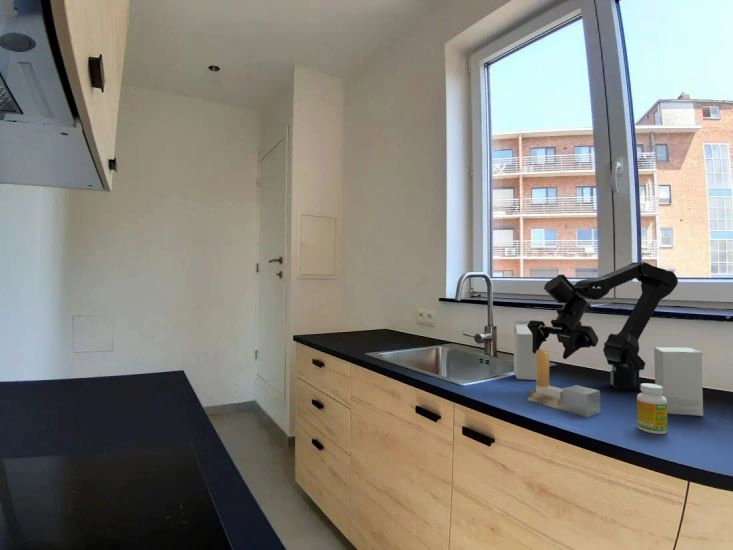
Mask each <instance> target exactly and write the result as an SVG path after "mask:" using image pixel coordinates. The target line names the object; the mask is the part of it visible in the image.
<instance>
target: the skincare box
mask: <svg viewBox="0 0 733 550" xmlns="http://www.w3.org/2000/svg"><path fill="white" fill-rule="evenodd" d="M653 355H654V358H653V359H654V384H656V385H660V386H662V387H663V394H662V396H664V397H665V398H666V399H667V415H668V414H670V415H681V416H682V415H685V416H699V417H704V398H703V396H704V395H703V391H704V390H703V368H702V367H703V363H702V362H703V361H702V359H703V357H702V356H703V353H702V352H701V351H700V350H697V349H694V348H692V347H672V346H671V347H665V346H664V347H663V346H662V347H661V346H654V348H653Z"/></svg>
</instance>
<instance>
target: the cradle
mask: <svg viewBox="0 0 733 550" xmlns="http://www.w3.org/2000/svg"><path fill="white" fill-rule="evenodd" d="M529 393H530V394H529V396H528V397H527V401H529V402H532V401H533V402H532V403H537V404H540V405H542V404H543V406H546V405H547V406H546V407H549V406H550V408H552V409H556V408H557V410H559V409H561V410H560V411H563V404H559V399H558V398H554V397H551V396H547V395H543V394H540V393H536V389H532V390H530V391H529Z"/></svg>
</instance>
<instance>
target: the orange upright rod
mask: <svg viewBox="0 0 733 550" xmlns="http://www.w3.org/2000/svg"><path fill="white" fill-rule="evenodd" d="M535 381H536V383H535V384H536V385H535V390H536V393H540V394H543V395H547V396H551V397H554V398H558V399H559V404H563V388H561V387H557V386H554V385H550V351H548V350H541V349H540V350H537V351H536V380H535Z"/></svg>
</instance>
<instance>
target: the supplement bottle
mask: <svg viewBox="0 0 733 550" xmlns="http://www.w3.org/2000/svg"><path fill="white" fill-rule="evenodd" d="M640 389H641V390H640V391H641V392H640V393H638V394H637V396H636V422H637V423H636V424H637V425H636V426H637V428H638V429H639V430H641V431H642V430H643V432H645V433H650V434H655V435H663V434H664V435H665V434H667V432H668V414H667V399H666V398H665V397H664V396H662V394H663V387H662V386H660V385H656V384H655V383H648V382H647V383H646V382H645V383H640Z"/></svg>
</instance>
